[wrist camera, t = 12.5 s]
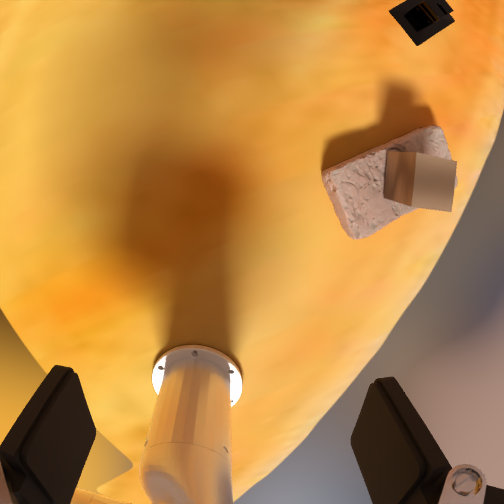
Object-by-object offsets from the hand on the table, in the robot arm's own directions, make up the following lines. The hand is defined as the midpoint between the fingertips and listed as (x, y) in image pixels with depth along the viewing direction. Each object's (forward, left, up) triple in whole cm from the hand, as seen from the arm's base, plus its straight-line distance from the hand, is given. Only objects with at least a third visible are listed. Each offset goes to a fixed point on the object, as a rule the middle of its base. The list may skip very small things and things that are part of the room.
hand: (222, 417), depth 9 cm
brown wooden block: (+7, -18, -24) cm, 31 cm away
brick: (+7, -18, -29) cm, 35 cm away
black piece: (+31, -24, -29) cm, 49 cm away
